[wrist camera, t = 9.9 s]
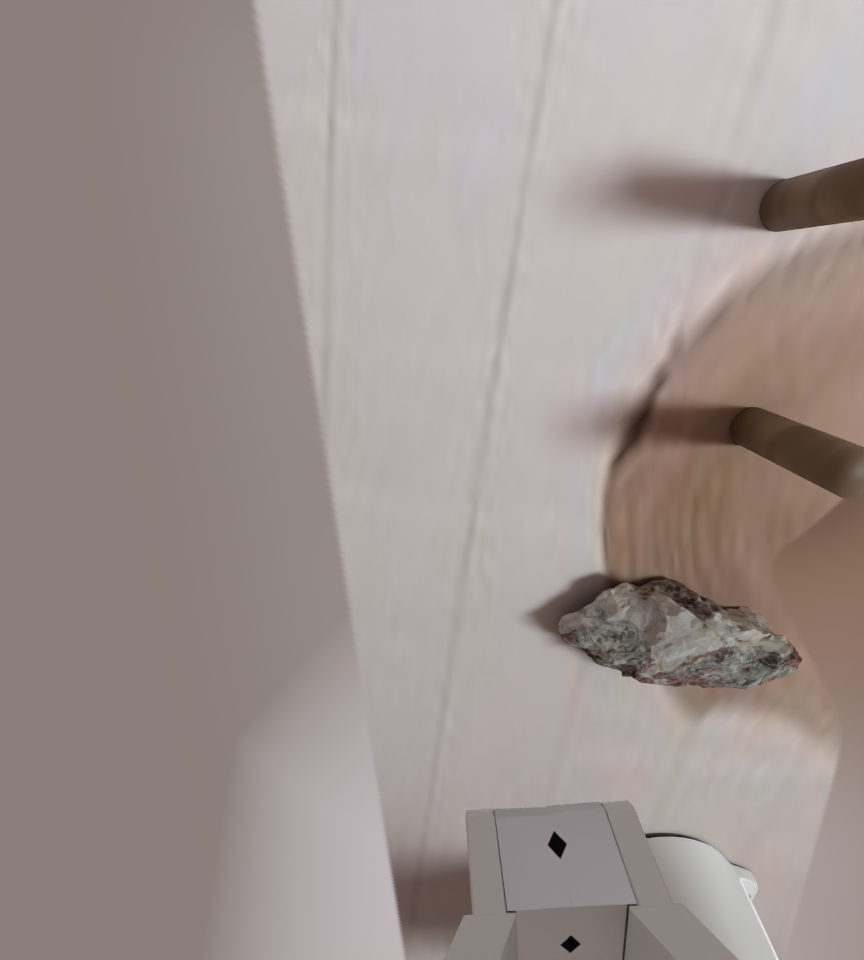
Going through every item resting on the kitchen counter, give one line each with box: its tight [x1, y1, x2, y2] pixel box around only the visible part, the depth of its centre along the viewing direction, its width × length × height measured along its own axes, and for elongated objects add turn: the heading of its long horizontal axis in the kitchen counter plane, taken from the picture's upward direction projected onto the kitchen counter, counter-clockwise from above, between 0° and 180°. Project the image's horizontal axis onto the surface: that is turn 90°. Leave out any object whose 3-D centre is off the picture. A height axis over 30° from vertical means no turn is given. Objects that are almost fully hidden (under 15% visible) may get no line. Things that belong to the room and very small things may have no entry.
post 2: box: [730, 407, 864, 498], centre depth 27 cm, size 2×2×8 cm
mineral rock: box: [558, 579, 802, 689], centre depth 34 cm, size 15×8×4 cm, turn 66°
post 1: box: [760, 158, 864, 232], centre depth 22 cm, size 2×2×8 cm
